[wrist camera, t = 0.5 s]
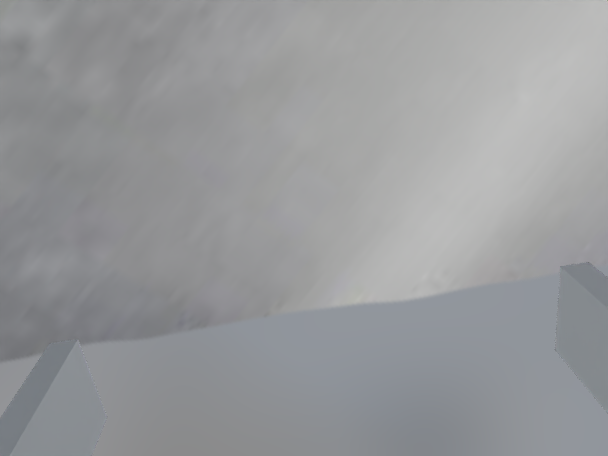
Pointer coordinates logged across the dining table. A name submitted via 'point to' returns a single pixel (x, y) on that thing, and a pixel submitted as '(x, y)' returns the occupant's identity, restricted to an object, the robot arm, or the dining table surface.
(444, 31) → the dining table surface
